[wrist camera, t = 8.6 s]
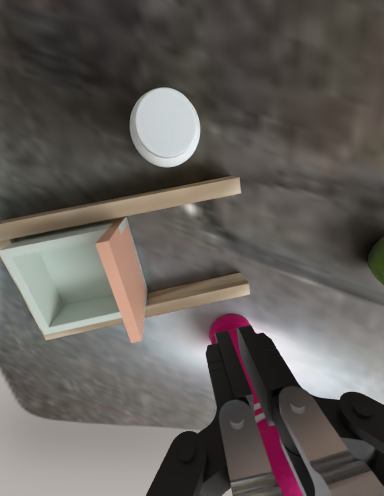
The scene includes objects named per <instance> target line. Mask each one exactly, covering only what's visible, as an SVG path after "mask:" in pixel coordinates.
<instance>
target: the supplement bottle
mask: <svg viewBox="0 0 384 496" xmlns="http://www.w3.org/2000/svg"><path fill="white" fill-rule="evenodd" d="M130 133H131V138H132V141H133V143H134V145H135V147H136V149H137V150H138V152H139V153H140V154H141V155H142V156H143V157H144V158H145V159H146V160H147V161H149V162H150V163H152V164H154V165H157V166H160V167H174V166H177V165H180V164H182V163H183V162H185V161H186V160H187V159H188V158H190V156H191V155H192V154H193V153H194V151H195V149H196V147H197V145H198V142H199V137H200V123H199V118H198V115H197V113H196V110H195V108H194V107H193V105H192V104H191V102H190V101H189V100H188V99H187V98H186V97H185V96H184V95H183V94H182V93H180V92H178V91H177V90H174V89H171V88H157V89H154V90H151V91H149V92H147V93H145V94H144V95H143V96H142V97H141V98H140V99H139V100H138V101H137V102H136V104H135V106H134V108H133V110H132V113H131V117H130Z"/></svg>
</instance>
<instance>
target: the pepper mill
mask: <svg viewBox="0 0 384 496" xmlns="http://www.w3.org/2000/svg"><path fill="white" fill-rule="evenodd" d="M247 325H250V324H249V322H248V321H247V319H245V318H244V317H242V316H240V315H236V314H233V315H226V316H223V317H221V318H219V319H218V320H217V321H216V322H215V323H214V324H213V325H212V327H211V329H210V339H211V343H212V344H216V339H215V333H217V332H221V331H225V330H228V332H229V334H230V337H231V339H232V342H233V344H234V347H235V350H236V352H237V355H238V357H239V360H240V362H241V365H242V368H243V370H244V373H245V375H246V378H247V381H248V383H249V386H250V388H251V391H252V393H253V402H254V412H255V420H256V423H257V426H258V429H259V432H260V435H261V438H262V441H263V444H264V447H265V450H266V453H267V456H268V460H269V463H270V466H271V469H272V472H273V475H274V477H275V480H276V482H277V483H278V484H279V486H280V489H281V491H282V494H283V496H303V494H302V492H301V489H300V487H299V485H298V483H297V480H296V478H295V476H294V474H293V472H292V469H291V467H290V465H289V463H288V460H287V458H286V456H285V454H284V451H283V449H282V447H281V444H280V435H279V433H278V430H277V428H276V426H275V425H273V426H269V425H268V423H267V420H266V418H265V415H264V413H263V410H262V408H261V405H260V403H259V400H258V398H257V395H256V393H255V390H254V388H253V386H252V383H251V381H250V378H249V376H248V373H247V371H246V368H245V366H244V363H243V361H242V358H241V354H240V350H239V342H238V334H237V328H239V327H243V326H247ZM255 334H257V333H255Z"/></svg>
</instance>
